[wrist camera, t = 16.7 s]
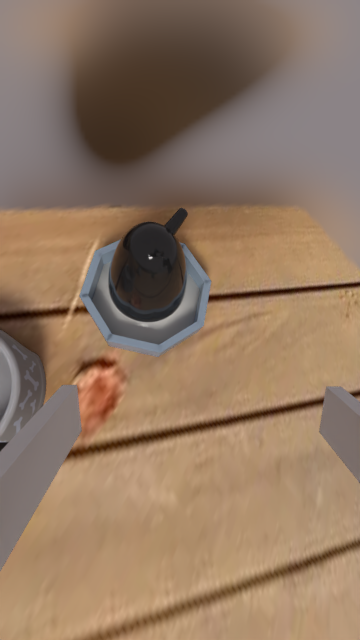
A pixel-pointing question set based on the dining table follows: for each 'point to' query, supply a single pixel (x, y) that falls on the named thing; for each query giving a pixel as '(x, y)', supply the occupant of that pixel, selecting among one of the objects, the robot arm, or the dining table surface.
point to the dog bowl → (18, 386)
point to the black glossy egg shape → (149, 271)
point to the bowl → (144, 334)
